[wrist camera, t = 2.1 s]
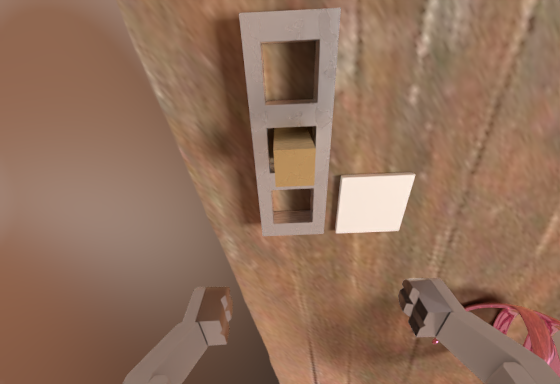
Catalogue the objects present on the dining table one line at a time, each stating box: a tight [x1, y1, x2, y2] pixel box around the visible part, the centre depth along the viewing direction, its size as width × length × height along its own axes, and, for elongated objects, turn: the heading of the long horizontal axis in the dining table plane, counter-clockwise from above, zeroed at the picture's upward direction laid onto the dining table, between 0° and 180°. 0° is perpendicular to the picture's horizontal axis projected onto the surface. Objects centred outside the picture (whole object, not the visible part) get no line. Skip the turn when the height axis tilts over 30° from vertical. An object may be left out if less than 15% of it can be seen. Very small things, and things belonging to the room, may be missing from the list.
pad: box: [335, 172, 415, 233], centre depth 34 cm, size 10×10×1 cm
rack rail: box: [239, 8, 341, 236], centre depth 28 cm, size 26×9×3 cm, turn 2°
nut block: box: [273, 126, 316, 187], centre depth 25 cm, size 4×4×8 cm
